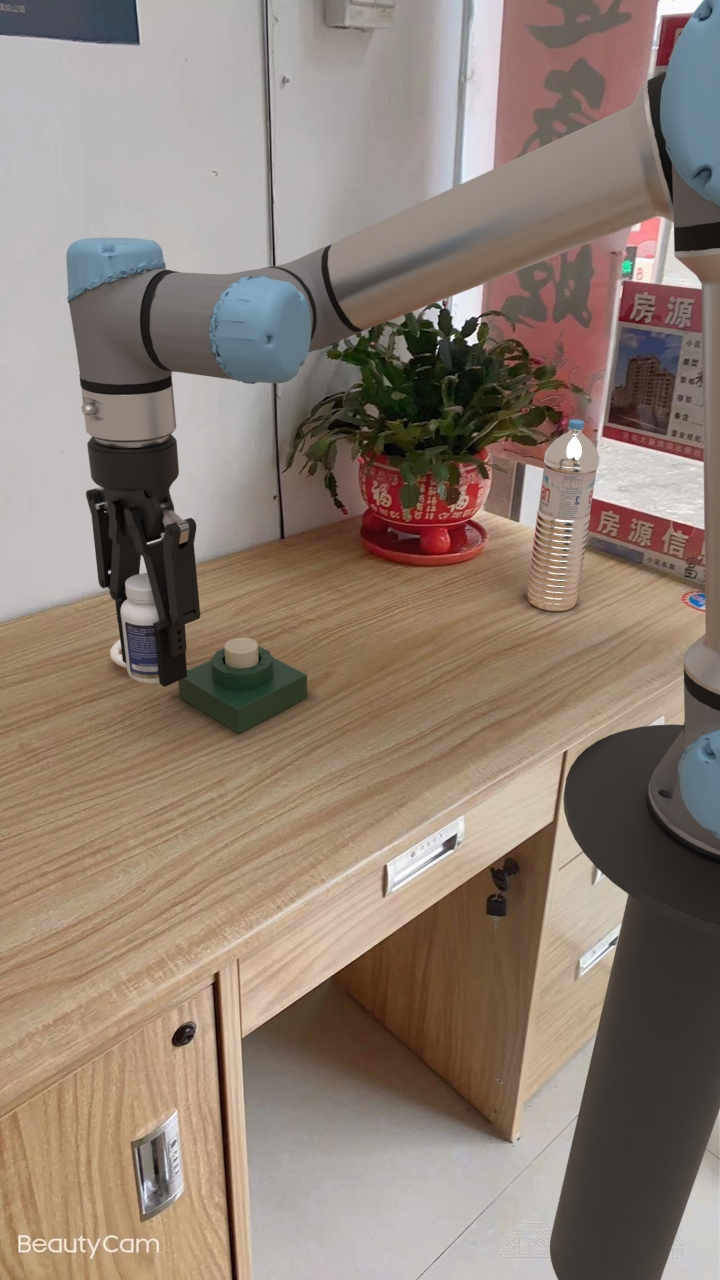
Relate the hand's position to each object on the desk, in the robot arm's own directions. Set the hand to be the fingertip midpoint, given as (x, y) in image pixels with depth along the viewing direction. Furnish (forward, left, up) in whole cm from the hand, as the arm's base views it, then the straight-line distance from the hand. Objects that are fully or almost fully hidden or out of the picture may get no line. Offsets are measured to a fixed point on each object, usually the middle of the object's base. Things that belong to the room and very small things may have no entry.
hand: (154, 668), depth 87 cm
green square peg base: (0, -11, -8) cm, 14 cm away
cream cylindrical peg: (0, -11, -4) cm, 12 cm away
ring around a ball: (+14, -8, -9) cm, 18 cm away
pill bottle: (0, 0, -1) cm, 1 cm away
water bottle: (-11, -57, -9) cm, 59 cm away
